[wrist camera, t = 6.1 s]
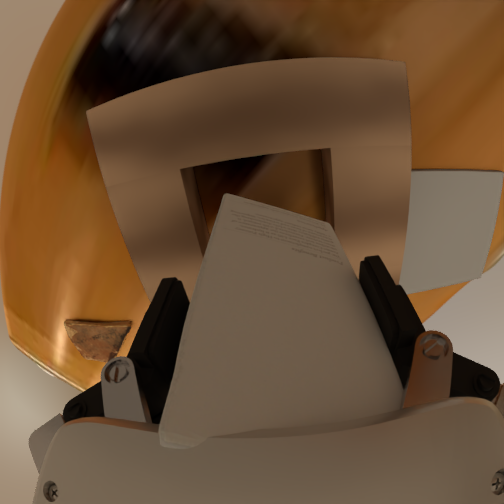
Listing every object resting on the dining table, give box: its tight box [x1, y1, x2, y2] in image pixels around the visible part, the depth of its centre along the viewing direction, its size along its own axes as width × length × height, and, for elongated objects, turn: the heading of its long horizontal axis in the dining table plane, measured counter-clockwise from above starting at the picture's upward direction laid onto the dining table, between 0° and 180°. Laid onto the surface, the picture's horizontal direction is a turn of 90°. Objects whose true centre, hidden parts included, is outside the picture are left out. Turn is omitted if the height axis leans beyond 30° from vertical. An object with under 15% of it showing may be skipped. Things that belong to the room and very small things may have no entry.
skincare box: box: [158, 193, 404, 449], centre depth 10 cm, size 6×4×12 cm
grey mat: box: [399, 169, 504, 294], centre depth 20 cm, size 12×12×1 cm
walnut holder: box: [86, 57, 411, 302], centre depth 19 cm, size 20×20×3 cm
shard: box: [64, 320, 131, 362], centre depth 29 cm, size 11×8×2 cm
